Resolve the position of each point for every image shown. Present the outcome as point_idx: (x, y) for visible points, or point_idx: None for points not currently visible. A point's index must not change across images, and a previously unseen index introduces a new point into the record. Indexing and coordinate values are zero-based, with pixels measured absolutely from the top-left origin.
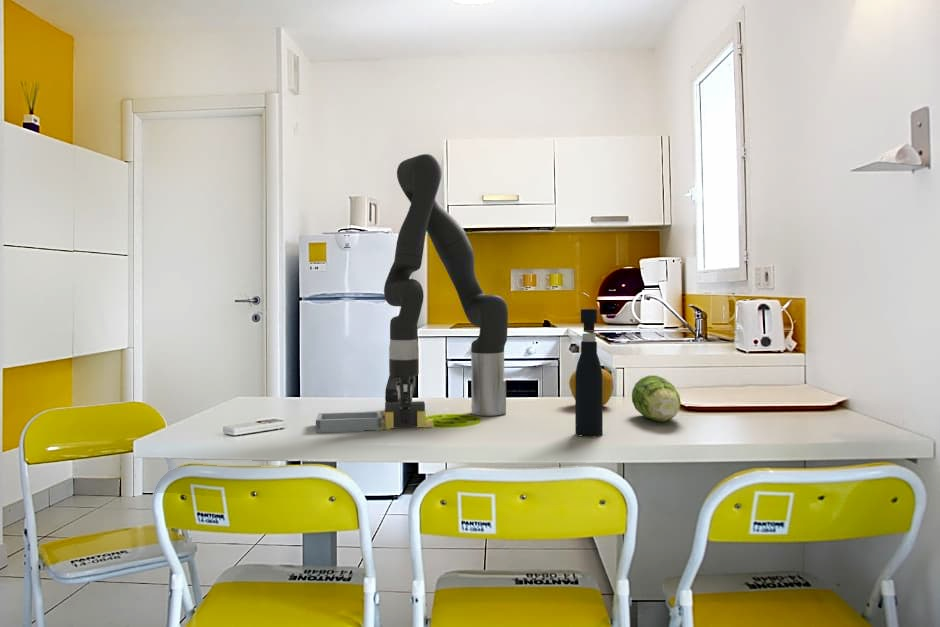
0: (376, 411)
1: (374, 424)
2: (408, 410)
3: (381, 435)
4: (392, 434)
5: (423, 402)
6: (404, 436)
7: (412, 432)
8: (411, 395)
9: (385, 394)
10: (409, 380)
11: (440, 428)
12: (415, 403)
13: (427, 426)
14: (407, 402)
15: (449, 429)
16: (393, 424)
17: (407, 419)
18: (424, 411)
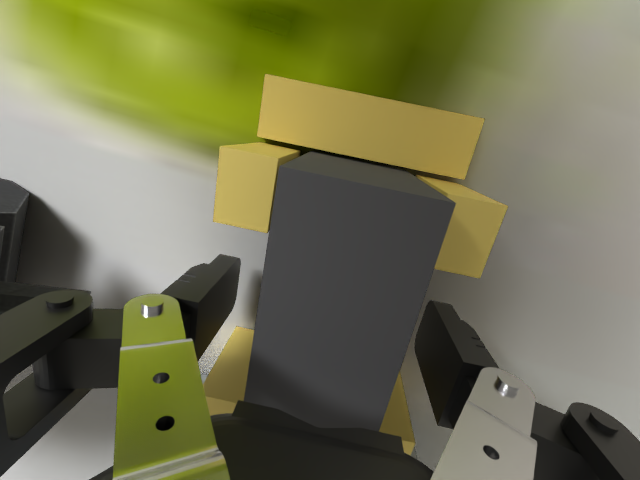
0: None
1: None
2: (481, 367)
3: None
4: (540, 402)
5: (372, 197)
6: (634, 366)
7: (553, 298)
8: (531, 468)
9: None
10: None
11: (535, 81)
12: (403, 304)
13: (465, 169)
14: (297, 356)
15: (615, 17)
16: (401, 379)
17: (475, 336)
18: (478, 206)
